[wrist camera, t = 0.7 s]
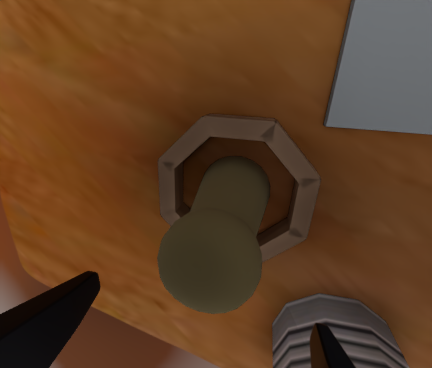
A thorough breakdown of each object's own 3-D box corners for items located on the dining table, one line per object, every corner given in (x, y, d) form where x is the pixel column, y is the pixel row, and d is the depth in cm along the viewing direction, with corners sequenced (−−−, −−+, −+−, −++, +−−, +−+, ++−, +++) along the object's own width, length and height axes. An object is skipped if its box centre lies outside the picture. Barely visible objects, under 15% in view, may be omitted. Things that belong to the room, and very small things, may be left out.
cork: (205, 149, 19) (135, 211, 9) (277, 163, 18) (288, 247, 8) (198, 211, 21) (137, 313, 11) (262, 225, 21) (255, 350, 11)
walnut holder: (327, 122, 16) (334, 125, 15) (295, 259, 21) (297, 274, 19) (166, 110, 19) (155, 112, 17) (170, 236, 23) (162, 248, 21)
